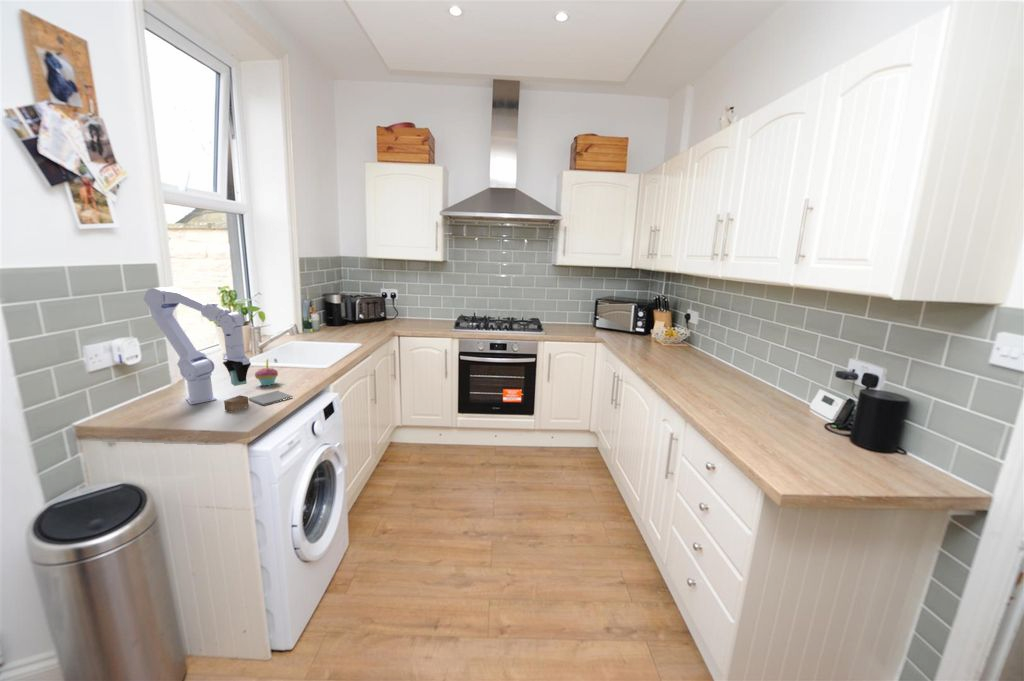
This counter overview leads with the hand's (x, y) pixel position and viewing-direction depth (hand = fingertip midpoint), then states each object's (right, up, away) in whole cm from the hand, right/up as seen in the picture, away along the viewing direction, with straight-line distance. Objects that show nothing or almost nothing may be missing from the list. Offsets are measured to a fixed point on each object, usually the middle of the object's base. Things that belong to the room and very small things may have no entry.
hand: (238, 380), depth 153 cm
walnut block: (+3, -10, -6) cm, 12 cm away
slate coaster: (+9, -8, +5) cm, 13 cm away
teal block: (0, -1, 0) cm, 1 cm away
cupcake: (-3, -4, +22) cm, 23 cm away
